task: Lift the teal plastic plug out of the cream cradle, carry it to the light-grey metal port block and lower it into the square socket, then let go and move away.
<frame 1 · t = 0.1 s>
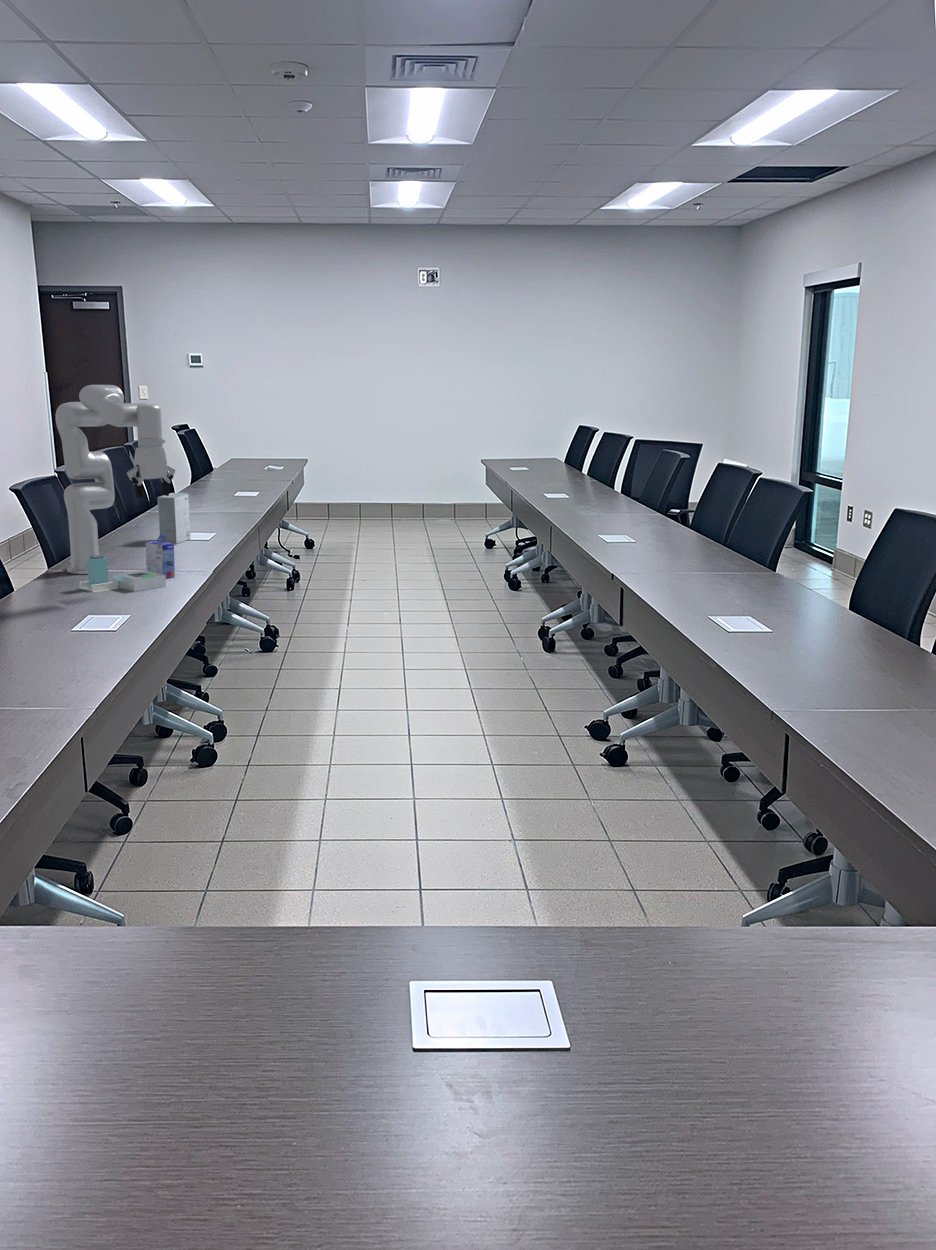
hand: (152, 496, 343), 31 cm above the table, tool pointing down, fingers open, 9 cm apart
port: (140, 589, 350), on the table
ink cartridge box: (161, 577, 373), on the table
plug: (98, 587, 346), point 1 cm above the table, touching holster
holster: (98, 590, 346), on the table
hard drive box: (175, 541, 449), on the table
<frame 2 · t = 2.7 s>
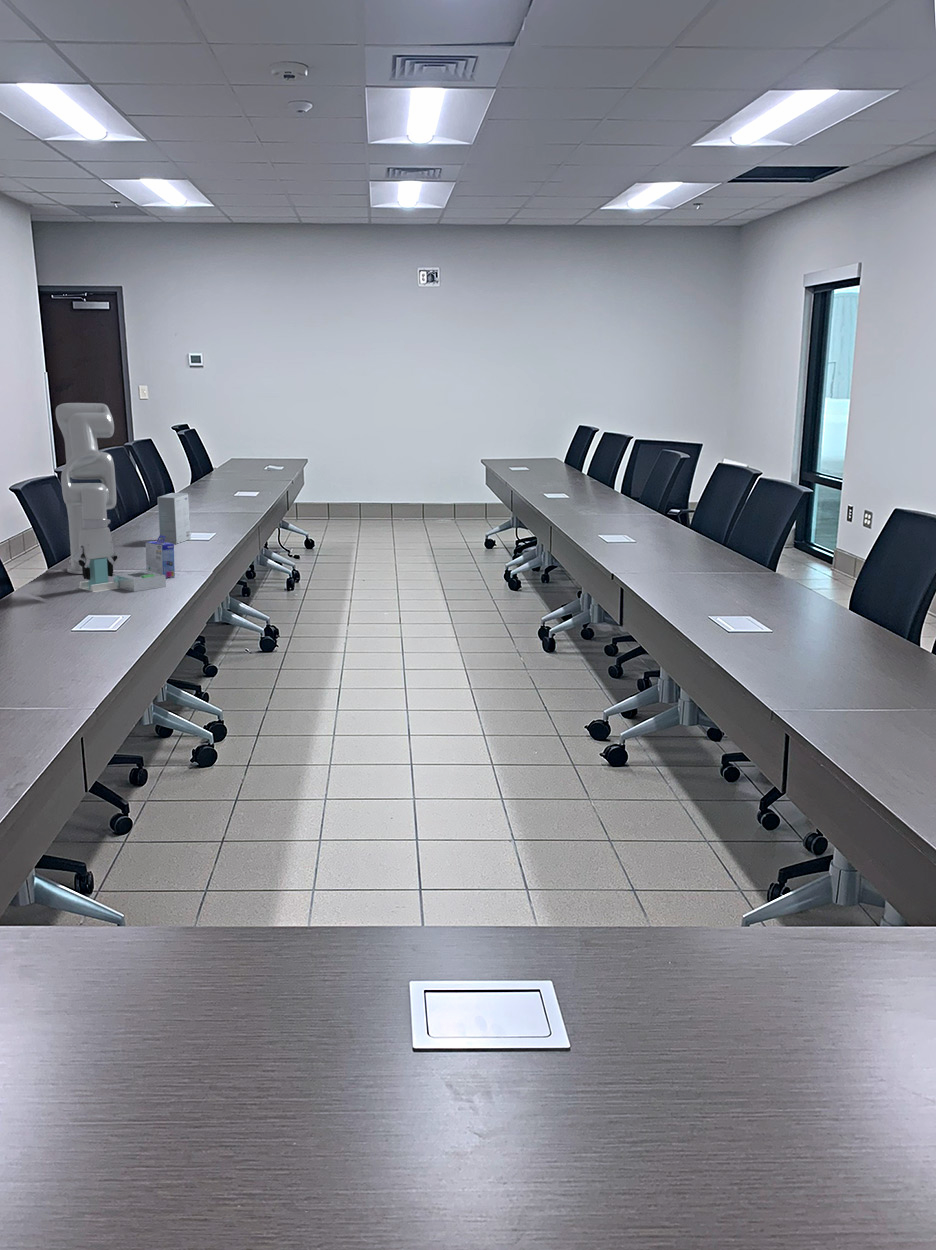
hand: (98, 577, 345), 5 cm above the table, tool pointing down, fingers open, 7 cm apart
nothing on the table moved.
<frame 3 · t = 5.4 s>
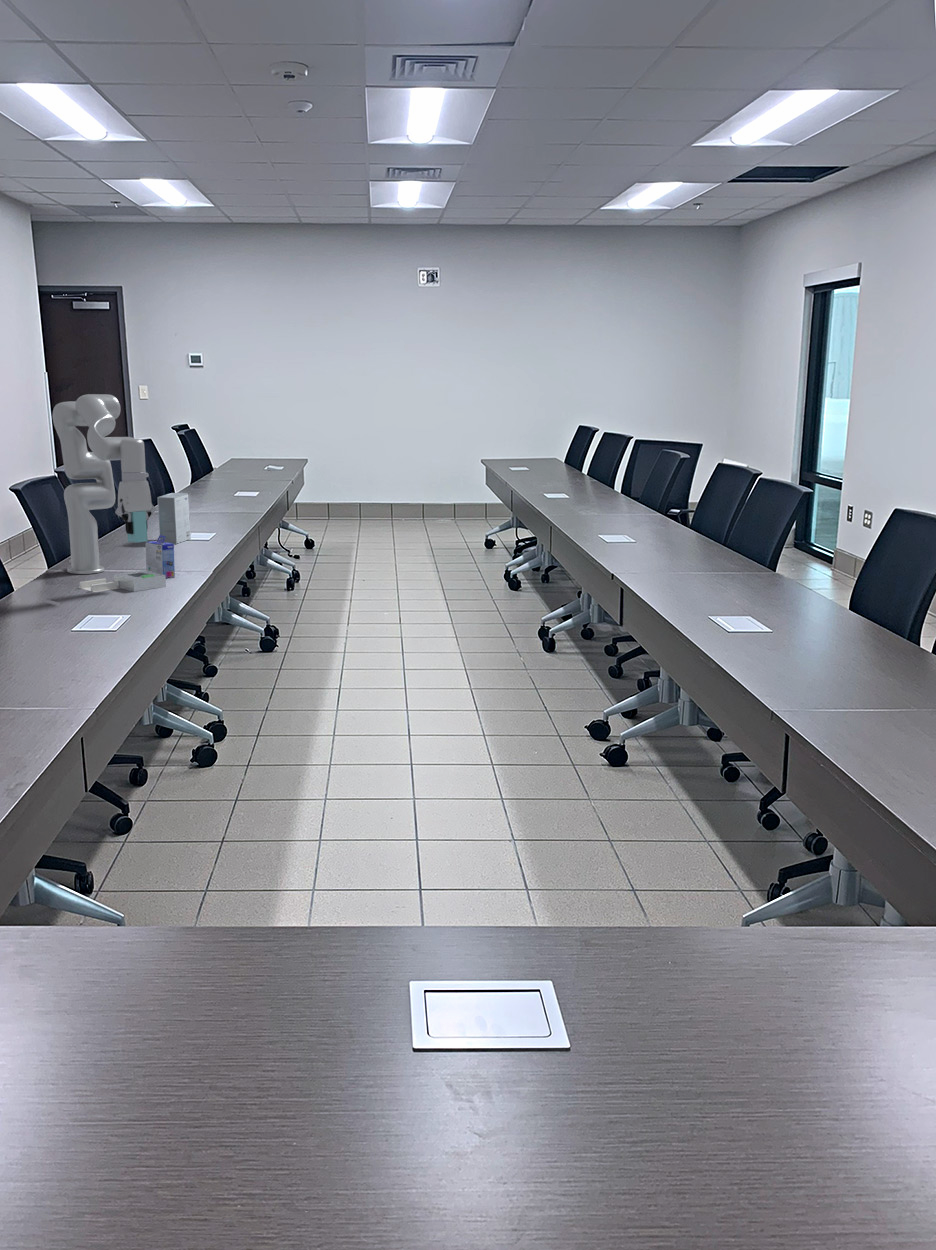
hand: (136, 532, 346), 19 cm above the table, tool pointing down, fingers closed on plug, 4 cm apart
plug: (137, 541, 346), point 16 cm above the table, touching gripper
everything else where it was.
when the fingers open (6 cm above the table, at t = 7.4 s): plug drops 2 cm, resting on port.
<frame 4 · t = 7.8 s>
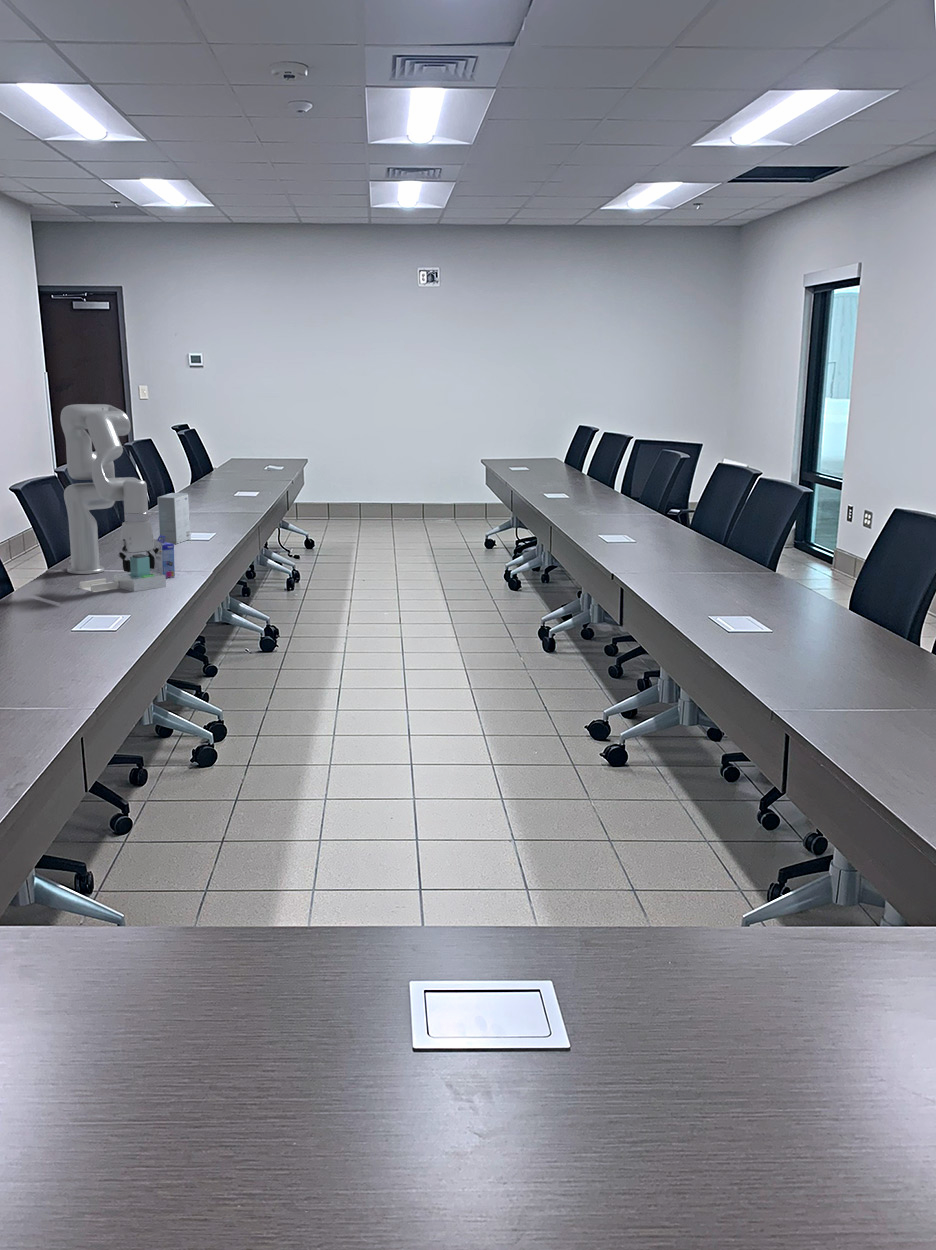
hand: (139, 569, 349), 7 cm above the table, tool pointing down, fingers open, 8 cm apart
plug: (140, 586, 350), point 1 cm above the table, touching port
everything else where it was.
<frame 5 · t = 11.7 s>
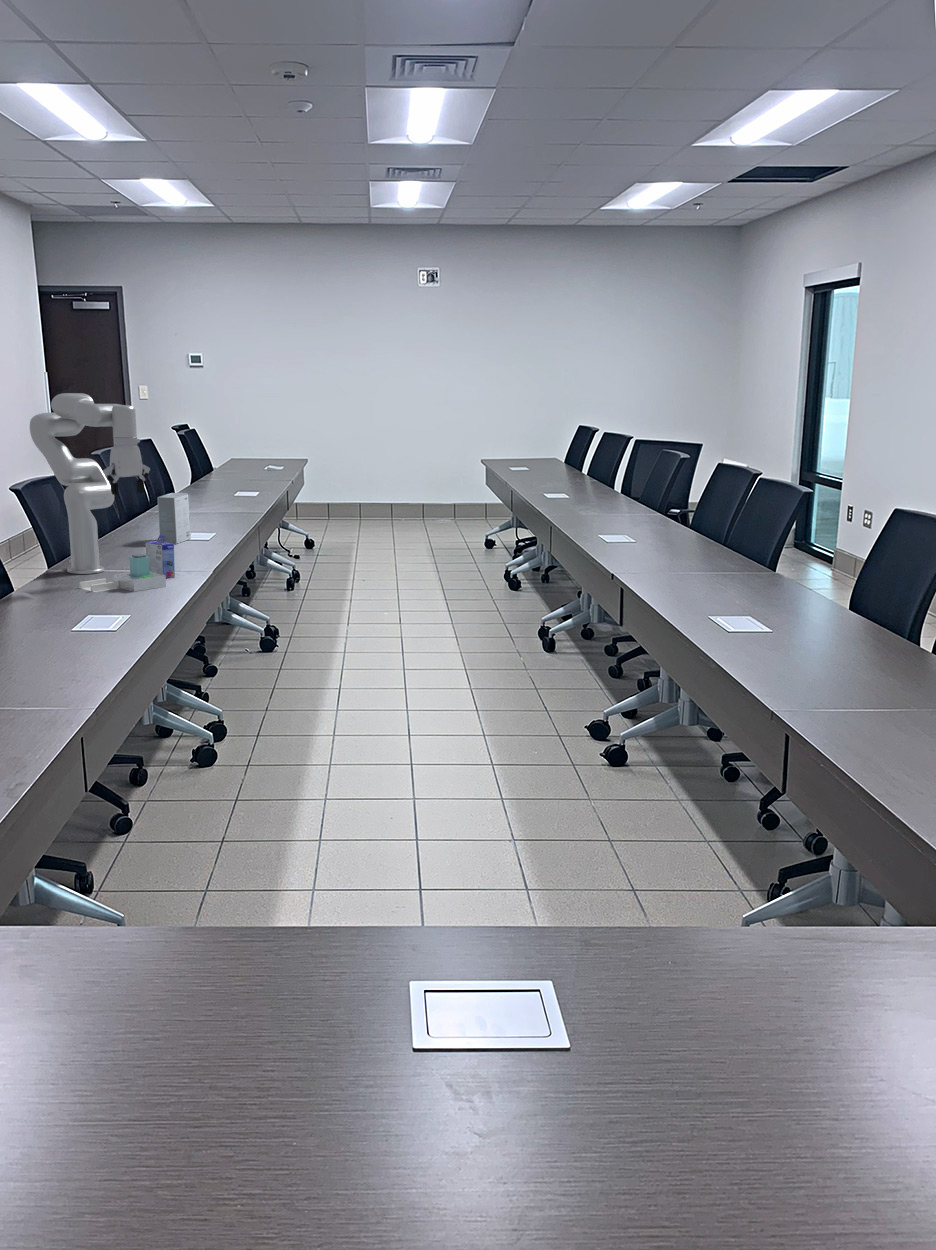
hand: (128, 493, 356), 30 cm above the table, tool pointing down, fingers open, 9 cm apart
nothing on the table moved.
at the end: plug 0.3 cm off-centre on the port, point 1.0 cm above the port's base; plug tilted 0°; the gripper is holding nothing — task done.
